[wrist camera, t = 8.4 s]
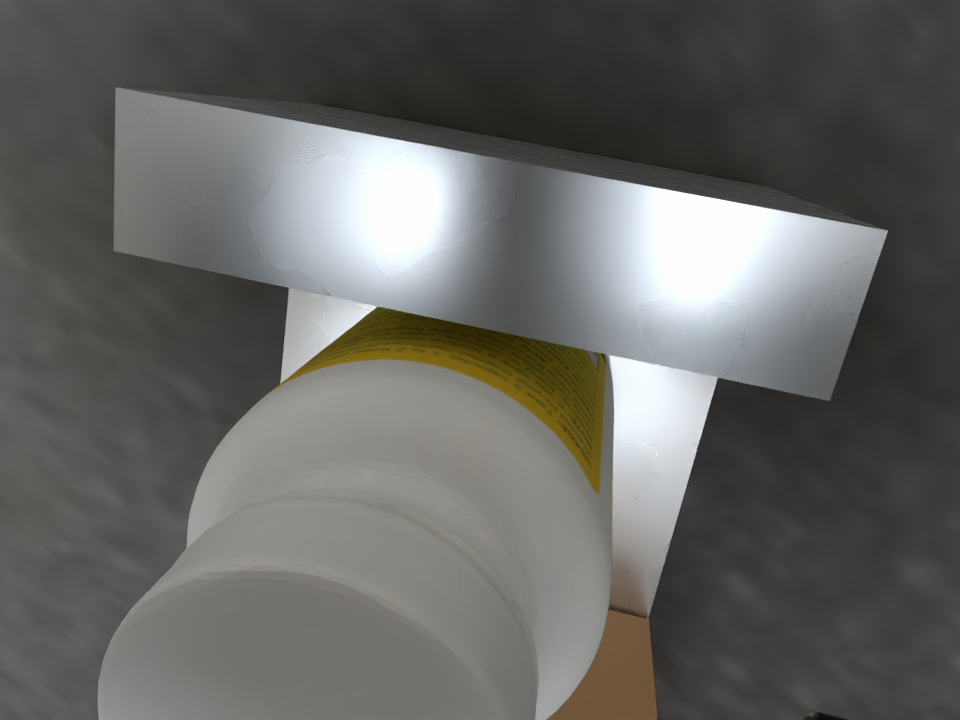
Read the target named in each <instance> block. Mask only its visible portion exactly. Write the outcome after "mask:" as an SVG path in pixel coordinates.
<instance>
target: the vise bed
mask: <svg viewBox="0 0 960 720" xmlns="http://www.w3.org/2000/svg"><path fill="white" fill-rule="evenodd" d="M887 232H888V231H887V230H885V229H882V228H879V227H876V226H874V225H871V224H868V223H865V222H863V221H860V220H857V219H855V218H852V217H849V216H846V215H844V214H841V213H838V212H835V211H833V210H830V209H827V208H824V207H822V206H819V205H816V204H813V203H811V202H808V201H805V200H802V199H800V198H797V197H794V196H792V195H789V194H786V193H783V192H781V191H778V190H775V189H772V188H770V187H767V186H762V185H757V184H751V183H746V182H741V181H735V180H730V179H724V178H719V177H713V176H708V175H702V174H697V173H691V172H686V171H680V170H675V169H669V168H664V167H658V166H653V165H648V164H642V163H637V162H631V161H626V160H620V159H615V158H609V157H604V156H598V155H593V154H587V153H582V152H576V151H571V150H565V149H560V148H554V147H549V146H544V145H538V144H533V143H527V142H522V141H516V140H511V139H505V138H500V137H494V136H489V135H483V134H478V133H472V132H467V131H461V130H456V129H451V128H445V127H440V126H434V125H429V124H423V123H418V122H412V121H407V120H401V119H396V118H390V117H385V116H379V115H374V114H368V113H363V112H358V111H352V110H347V109H341V108H336V107H330V106H325V105H319V104H310V103H298V102H286V101H274V100H262V99H250V98H238V97H226V96H214V95H202V94H190V93H178V92H166V91H154V90H142V89H130V88H118V87H116V95H115V175H114V251H116V252H121V253H126V254H130V255H135V256H140V257H145V258H149V259H154V260H159V261H164V262H169V263H173V264H178V265H183V266H188V267H192V268H197V269H202V270H207V271H211V272H216V273H221V274H226V275H231V276H235V277H240V278H245V279H250V280H254V281H259V282H264V283H269V284H274V285H278V286H283V287H288V288H289V294H288V306H287V317H286V328H285V339H284V350H283V361H282V373H281V383H282V382H283V381H285V380H286V379H287V378H288V377H290V376H291V375H292V374H293V373H294V372H296V371H297V370H298V369H299V368H301V367H302V366H303V365H304V364H306V363H307V362H308V361H309V360H310V359H312V358H313V357H314V356H315V355H317V354H318V353H319V352H320V351H322V350H323V349H324V348H325V347H327V346H328V345H329V344H331V343H332V342H333V341H334V340H336V339H337V338H338V337H340V336H341V335H342V334H343V333H345V332H346V331H347V330H349V329H350V328H351V327H352V326H354V325H355V324H356V323H357V322H359V321H360V320H361V319H362V318H363V317H365V316H366V315H367V314H369V313H370V312H371V311H372V310H374V309H375V308H376V307H377V306H379V307H383V308H388V309H393V310H398V311H402V312H407V313H412V314H417V315H421V316H426V317H431V318H436V319H441V320H445V321H450V322H455V323H460V324H464V325H469V326H474V327H479V328H484V329H488V330H493V331H498V332H503V333H507V334H512V335H517V336H522V337H526V338H531V339H536V340H541V341H546V342H550V343H555V344H560V345H565V346H569V347H574V348H579V349H584V350H589V351H593V352H598V353H603V354H606V356H607V358H608V361H609V365H610V369H611V374H612V380H613V396H614V440H613V448H614V453H613V486H612V487H613V497H612V500H613V505H612V581H611V588H610V600H609V608H608V610H612V611H616V612H620V613H624V614H629V615H633V616H637V617H641V618H645V619H648V618H649V614H650V611H651V607H652V604H653V600H654V597H655V593H656V590H657V586H658V583H659V580H660V576H661V573H662V569H663V566H664V562H665V559H666V555H667V552H668V548H669V545H670V541H671V538H672V534H673V531H674V528H675V524H676V521H677V517H678V514H679V510H680V507H681V503H682V500H683V496H684V493H685V489H686V486H687V483H688V479H689V476H690V472H691V469H692V465H693V462H694V458H695V455H696V451H697V448H698V444H699V441H700V437H701V434H702V431H703V427H704V424H705V420H706V417H707V413H708V410H709V406H710V403H711V399H712V396H713V392H714V389H715V386H716V382H717V379H718V378H722V379H727V380H732V381H736V382H741V383H746V384H751V385H756V386H760V387H765V388H770V389H775V390H779V391H784V392H789V393H794V394H799V395H803V396H808V397H813V398H818V399H822V400H827V401H830V398H831V396H832V393H833V390H834V387H835V384H836V381H837V378H838V375H839V372H840V369H841V366H842V364H843V361H844V358H845V355H846V352H847V349H848V346H849V343H850V340H851V337H852V334H853V332H854V329H855V326H856V323H857V320H858V317H859V314H860V311H861V308H862V305H863V302H864V299H865V297H866V294H867V291H868V288H869V285H870V282H871V279H872V276H873V273H874V270H875V267H876V265H877V262H878V259H879V256H880V253H881V250H882V247H883V244H884V241H885V238H886V235H887Z"/></svg>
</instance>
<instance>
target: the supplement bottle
mask: <svg viewBox="0 0 960 720" xmlns="http://www.w3.org/2000/svg"><path fill="white" fill-rule="evenodd" d="M613 440H614V396H613V380H612V374H611V369H610V365H609V361H608V358H607V356H606V354H603V353H598V352H593V351H589V350H584V349H579V348H574V347H569V346H565V345H560V344H555V343H550V342H546V341H541V340H536V339H531V338H526V337H522V336H517V335H512V334H507V333H503V332H498V331H493V330H488V329H484V328H479V327H474V326H469V325H464V324H460V323H455V322H450V321H445V320H441V319H436V318H431V317H426V316H421V315H417V314H412V313H407V312H402V311H398V310H393V309H388V308H383V307H379V306H377V307H376V308H375V309H374V310H372V311H371V312H370V313H369V314H367V315H366V316H365V317H363V318H362V319H361V320H360V321H359V322H357V323H356V324H355V325H354V326H352V327H351V328H350V329H349V330H347V331H346V332H345V333H343V334H342V335H341V336H340V337H338V338H337V339H336V340H334V341H333V342H332V343H331V344H329V345H328V346H327V347H325V348H324V349H323V350H322V351H320V352H319V353H318V354H317V355H315V356H314V357H313V358H312V359H310V360H309V361H308V362H307V363H306V364H304V365H303V366H302V367H301V368H299V369H298V370H297V371H296V372H294V373H293V374H292V375H291V376H290V377H288V378H287V379H286V380H285V381H283V382H282V383H281V384H279V385H278V386H277V387H276V388H274V389H273V390H272V391H271V392H269V393H268V394H267V395H266V396H265V397H263V398H262V399H261V400H260V401H259V402H258V403H256V404H255V405H254V406H253V407H252V408H251V409H250V410H249V411H248V412H247V413H246V414H245V415H244V416H243V417H242V418H241V419H240V420H239V421H238V422H237V423H236V424H235V425H234V427H233V428H232V429H231V430H230V431H229V432H228V433H227V434H226V436H225V437H224V438H223V440H222V441H221V442H220V444H219V445H218V447H217V448H216V450H215V451H214V453H213V454H212V456H211V458H210V459H209V461H208V462H207V465H206V467H205V469H204V471H203V474H202V476H201V478H200V481H199V483H198V486H197V488H196V492H195V496H194V499H193V503H192V506H191V510H190V515H189V522H188V533H187V549H186V550H185V551H184V552H183V553H182V555H181V556H180V557H179V559H178V560H177V561H176V562H175V564H174V565H173V566H172V567H171V568H170V569H169V570H168V571H167V572H166V573H165V574H164V575H163V576H162V577H161V578H160V579H159V580H158V582H157V583H156V584H155V585H154V586H153V587H152V588H151V589H150V590H149V591H148V592H147V593H146V594H145V595H144V596H143V597H142V598H141V599H140V600H139V601H138V602H137V603H136V604H135V605H134V606H133V607H132V608H131V610H130V611H129V613H128V614H127V615H126V617H125V618H124V619H123V621H122V622H121V624H120V625H119V627H118V629H117V630H116V632H115V634H114V636H113V637H112V639H111V641H110V644H109V646H108V649H107V651H106V654H105V656H104V659H103V663H102V668H101V673H100V678H99V682H98V715H99V720H546V719H547V718H549V717H550V716H551V715H552V714H553V713H555V712H556V711H557V710H558V709H559V708H560V707H561V705H562V704H563V703H564V702H565V701H566V700H567V699H568V698H569V697H570V696H571V694H572V693H573V692H574V690H575V689H576V688H577V686H578V685H579V683H580V682H581V680H582V679H583V677H584V676H585V674H586V672H587V671H588V669H589V667H590V665H591V663H592V661H593V660H594V657H595V655H596V652H597V650H598V647H599V645H600V642H601V638H602V635H603V631H604V628H605V623H606V618H607V613H608V608H609V600H610V588H611V581H612V505H613V500H612V497H613V487H612V486H613V453H614V448H613Z"/></svg>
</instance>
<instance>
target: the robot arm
mask: <svg viewBox="0 0 960 720" xmlns="http://www.w3.org/2000/svg"><path fill="white" fill-rule="evenodd" d="M803 720H848V719H844V718H840V717H836V716H832V715H828V714H824V713H820V712H811V713H808V714H807V715H806V716H805V717H804V718H803Z"/></svg>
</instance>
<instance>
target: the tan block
mask: <svg viewBox="0 0 960 720" xmlns="http://www.w3.org/2000/svg"><path fill="white" fill-rule="evenodd" d="M546 720H657V708H656V696H655V684H654V673H653V661H652V649H651V637H650V626H649V619H645V618H641V617H637V616H633V615H629V614H624V613H620V612H616V611H612V610H608V613H607V618H606V623H605V628H604V631H603V635H602V638H601V642H600V645H599V647H598V650H597V652H596V655H595V657H594V660H593V661H592V663H591V665H590V667H589V669H588V671H587V672H586V674H585V676H584V677H583V679H582V680H581V682H580V683H579V685H578V686H577V688H576V689H575V690H574V692H573V693H572V694H571V696H570V697H569V698H568V699H567V700H566V701H565V702H564V703H563V704H562V705H561V707H560V708H559V709H558V710H557V711H556V712H555V713H553V714H552V715H551V716H550V717H549V718H547V719H546Z"/></svg>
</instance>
